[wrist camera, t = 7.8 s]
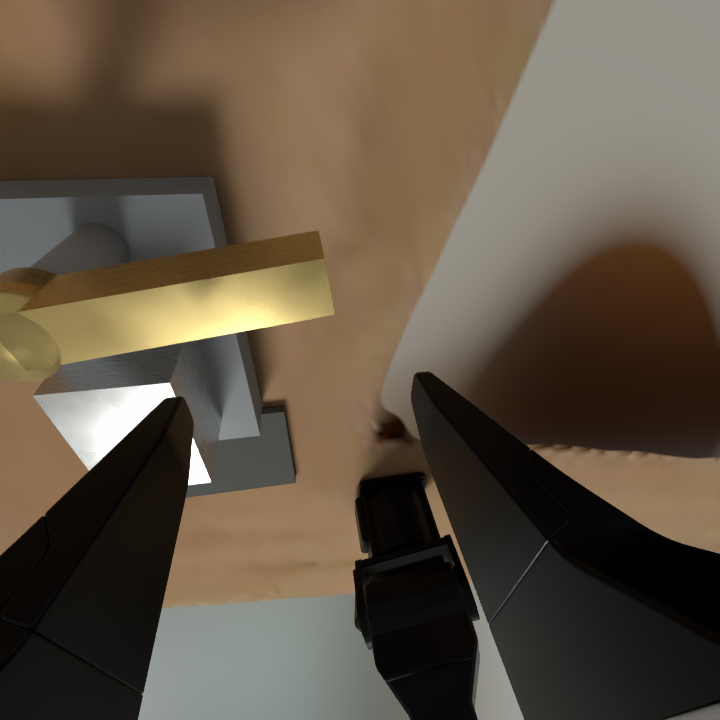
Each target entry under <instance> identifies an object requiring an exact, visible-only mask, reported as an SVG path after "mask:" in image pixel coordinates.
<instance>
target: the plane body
mask: <svg viewBox="0 0 720 720" xmlns="http://www.w3.org/2000/svg"><path fill="white" fill-rule="evenodd" d="M224 246H228V243H227V238H226V233H225V229H224V224H223V219H222V215H221V210H220V206H219V201H218V196H217V192H216V187H215V182H214V178H213V176H212V177H163V178H115V179H66V180H18V181H0V274H1V273H3V272H5V271H7V270H10V269H14V268H21V267H28V268H36V269H41V270H45V271H48V272H51V273H53V274H56V275H59V274H65V273H71V272H77V271H82V270H88V269H94V268H100V267H106V266H112V265H118V264H124V263H130V262H135V261H141V260H147V259H153V258H159V257H165V256H171V255H177V254H183V253H188V252H194V251H200V250H206V249H212V248H218V247H224ZM197 343H198V346H199V349H200V352H201V355H202V358H203V361H204V364H205V367H206V370H207V374H208V377H209V380H210V383H211V386H212V389H213V392H214V395H215V398H216V401H217V404H218V407H219V411H220V414H221V417H222V421H221V427H220V433H219V439H218V440H226V439H235V438H244V437H252V436H260V430H261V413H262V401H261V396H260V391H259V387H258V382H257V377H256V373H255V368H254V363H253V359H252V354H251V349H250V345H249V340H248V336H247V331H243V332H237V333H232V334H227V335H221V336H216V337H210V338H205V339H199V340H197Z"/></svg>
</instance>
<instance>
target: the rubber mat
mask: <svg viewBox="0 0 720 720" xmlns="http://www.w3.org/2000/svg"><path fill="white" fill-rule="evenodd" d="M290 483H296V477H295V470H294V464H293V458H292V452H291V446H290V440H289V434H288V428H287V422H286V415H285V409H284V406H279V407H270V408H262V413H261V430H260V436H252V437H244V438H235V439H226V440H218V445H217V450H216V456H215V462H214V468H213V474H212V479H211V482H207V483H199V484H192V485H188V489H187V494H186V497H194V496H201V495H209V494H216V493H224V492H231V491H238V490H246V489H253V488H261V487H268V486H276V485H283V484H290Z"/></svg>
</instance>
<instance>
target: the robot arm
mask: <svg viewBox="0 0 720 720" xmlns="http://www.w3.org/2000/svg"><path fill="white" fill-rule="evenodd" d="M411 402H412V406H413V410H414V414H415V418H416V423H417V427H418V431H419V435H420V439H421V443H422V447H423V451H424V454H425V457H426V460H427V462H428V465H429V467H430V470H431V473H432V475H433V478H434V481H435V483H436V486H437V489H438V491H439V494H440V497H441V499H442V502H443V505H444V507H445V510H446V513H447V515H448V518H449V521H450V523H451V526H452V528H453V531H454V534H455V536H456V539H457V542H458V544H459V547H460V550H461V552H462V555H463V558H464V560H465V563H466V566H467V568H468V571H469V574H470V576H471V579H472V582H473V584H474V587H475V589H476V591H477V595H478V597H479V600H480V603H481V605H482V607H483V611H484V613H485V616H486V619H487V621H488V623H489V627H490V630H491V632H492V635H493V637H494V640H495V643H496V646H497V648H498V651H499V654H500V656H501V659H502V662H503V664H504V667H505V669H506V672H507V675H508V678H509V680H510V683H511V685H512V688H513V691H514V693H515V696H516V699H517V701H518V704H519V707H520V709H521V712H522V714H523V717H524V720H720V554H719V553H715V552H711V551H707V550H704V549H700V548H696V547H692V546H688V545H685V544H682V543H679V542H676V541H673V540H671V539H669V538H666V537H664V536H662V535H660V534H658V533H656V532H654V531H652V530H650V529H649V528H647V527H645V526H644V525H642V524H640V523H639V522H637V521H636V520H634V519H633V518H631V517H630V516H628V515H626V514H625V513H623V512H622V511H620V510H619V509H617V508H616V507H614V506H613V505H611V504H609V503H608V502H606V501H605V500H603V499H602V498H600V497H599V496H597V495H596V494H594V493H593V492H591V491H589V490H588V489H586V488H585V487H583V486H582V485H580V484H579V483H577V482H576V481H574V480H573V479H572V478H570V477H569V476H567V475H566V474H564V473H563V472H561V471H560V470H559V469H557V468H556V467H555V466H553V465H552V464H550V463H549V462H548V461H546V460H545V459H544V458H542V457H541V456H540V455H538V454H537V453H536V452H535V451H533V450H530V448H529V447H528V446H526V445H525V444H524V443H522V442H521V441H520V440H519V439H517V438H516V437H515V436H513V435H512V434H511V433H509V432H508V431H507V430H505V429H504V428H503V427H501V426H500V425H499V424H498V423H496V422H495V421H494V420H492V419H491V418H490V417H488V416H487V415H486V414H484V413H483V412H482V411H481V410H479V409H478V408H477V407H475V406H474V405H473V404H472V403H470V402H469V401H467V400H466V399H465V398H464V397H462V396H461V395H460V394H458V393H457V392H456V391H455V390H453V389H452V388H450V387H449V386H448V385H447V384H445V383H444V382H443V381H441V380H440V379H439V378H438V377H436V376H435V375H434V374H432V373H431V372H419V373H416V374H415V375H414V378H413V385H412V392H411ZM193 431H194V421H193V417H192V415H191V412H190V410H189V407H188V405H187V402H186V400H185V399H184V397H182V396H177V397H168V398H165V399H163V400H162V401H161V402H160V403H159V404H158V405H157V406H156V407H155V408H154V409H153V410H152V411H151V412H150V413H149V414H148V415H147V416H146V417H145V418H144V419H143V420H142V421H140V422H139V423H138V424H137V425H136V426H135V427H134V428H133V429H132V430H131V431H130V432H129V433H128V434H127V435H126V436H125V437H124V438H123V439H122V440H121V441H120V442H119V443H118V444H117V445H116V446H115V447H113V448H112V449H111V450H110V451H109V452H108V453H107V454H106V455H105V456H104V457H103V458H102V459H101V460H100V461H99V462H98V463H97V464H96V465H95V466H94V467H93V468H92V469H91V470H90V471H89V472H88V473H87V474H85V475H84V476H83V477H82V478H81V479H80V480H79V481H78V482H77V483H76V484H75V485H74V486H73V487H72V488H71V489H70V490H69V491H68V492H67V493H66V494H65V495H64V496H63V497H62V498H61V499H60V500H58V501H57V502H56V503H55V504H54V505H53V506H52V507H51V508H50V509H49V510H48V511H47V512H46V513H45V516H42V517H41V518H40V519H39V520H38V521H37V522H35V523H34V524H33V525H32V526H31V527H30V528H29V529H28V530H27V531H26V532H25V533H24V534H23V535H22V536H21V537H20V538H19V539H18V540H17V541H15V542H14V543H13V544H12V545H11V546H10V547H9V548H8V549H7V550H6V551H5V552H4V553H3V554H1V555H0V720H138V716H139V711H140V707H141V702H142V697H143V696H142V695H141V694H142V693H143V692H144V687H145V683H146V678H147V674H148V669H149V664H150V660H151V655H152V650H153V645H154V641H155V637H156V632H157V627H158V622H159V618H160V614H161V609H162V604H163V600H164V595H165V591H166V586H167V581H168V577H169V572H170V568H171V563H172V558H173V554H174V549H175V545H176V540H177V535H178V531H179V526H180V521H181V517H182V512H183V508H184V503H185V498H186V494H187V489H188V483H189V475H190V465H191V454H192V442H193ZM425 483H426V475H425V474H424V473H417V474H409V475H402V476H395V477H388V478H380V479H373V480H366V481H362V482H360V484H359V497H358V498H356V500H355V516H356V522H357V528H358V535H359V541H360V547H361V552H363V553H368V557H369V558H368V559H364V560H361V559H360V560H357V561H355V568H356V569H354V570H353V576H354V583H355V626H356V628H357V629H358V630H359V631H361V632H362V635H363V637H364V640H365V643H366V645H367V647H368V649H369V650H371V649H373V653H374V659H375V665H376V668H377V670H378V671H379V673H380V674H381V676H382V677H383V679H384V680H385V681H386V683H387V685H388V686H389V688H390V689H391V690H392V692H393V693H394V695H395V696H396V698H397V699H398V701H399V702H400V703H401V705H402V707H403V708H404V710H405V711H406V713H407V714H408V715H409V717H410V720H478V719H477V716H476V712H475V698H476V690H477V681H478V672H479V663H480V653H479V646H478V639H477V635H476V632H475V629H474V626H473V623H472V621H476V620H480V617H479V613H478V610H477V606H476V603H475V600H474V597H473V594H472V591H471V588H470V585H469V582H468V580H467V577H466V574H465V572H464V569H463V567H462V564H461V562H460V559H459V556H458V554H457V551H456V549H455V546H454V544H453V541H452V538H451V536H450V534H449V535H445V536H444V537H442V538H440V535H439V532H438V529H437V526H436V523H435V520H434V517H433V514H432V511H431V508H430V505H429V502H428V499H427V496H426V493H425V490H424V488H425Z"/></svg>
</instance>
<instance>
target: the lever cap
mask: <svg viewBox="0 0 720 720" xmlns="http://www.w3.org/2000/svg"><path fill="white" fill-rule="evenodd" d="M177 396H182V397H184V399H185V400H186V402H187V405H188V407H189V410H190V412H191V415H192V417H193V421H194V431H193V442H192V454H191V465H190V475H189V483H188V485H192V484H199V483H207V482H211V479H212V474H213V468H214V462H215V456H216V450H217V445H218V439H219V433H220V427H221V421H222V417H221V414H220V411H219V407H218V404H217V401H216V398H215V395H214V392H213V389H212V386H211V383H210V380H209V377H208V374H207V370H206V367H205V364H204V361H203V358H202V355H201V352H200V349H199V346H198V343H197V340H194V341H188V342H183V343H178V344H172V345H167V346H161V347H156V348H150V349H145V350H139V351H134V352H129V353H123V354H118V355H112V356H107V357H101V358H96V359H90V360H85V361H80V362H74V363H69V364H63V365H61V366H60V367H59V369H58V370H57V371H56V372H55V373H54V374H53V375H51V376H50V377H48V378H46V379H45V380H44V381H43V383H42V384H41V385H40V386H39V388H38V389H37V390H36V392H35V393H34V394H33V397H34V398H35V400H36V401H37V402H38V404H39V405H40V406H41V408H42V409H43V410H44V412H45V413H46V414H47V415H48V417H49V418H50V419H51V421H52V422H53V423H54V425H55V426H56V427H57V429H58V430H59V431H60V433H61V434H62V435H63V437H64V438H65V439H66V441H67V442H68V443H69V445H70V446H71V447H72V449H73V450H74V451H75V452H76V454H77V455H78V456H79V458H80V459H81V460H82V462H83V463H84V464H85V466H86V467H87V468H88V470H89V471H90V470H91V469H92V468H93V467H94V466H95V465H96V464H97V463H98V462H99V461H100V460H101V459H102V458H103V457H104V456H105V455H106V454H107V453H108V452H109V451H110V450H111V449H112V448H113V447H115V446H116V445H117V444H118V443H119V442H120V441H121V440H122V439H123V438H124V437H125V436H126V435H127V434H128V433H129V432H130V431H131V430H132V429H133V428H134V427H135V426H136V425H137V424H138V423H139V422H140V421H142V420H143V419H144V418H145V417H146V416H147V415H148V414H149V413H150V412H151V411H152V410H153V409H154V408H155V407H156V406H157V405H158V404H159V403H160V402H161V401H162V400H163V399H165V398H168V397H177Z"/></svg>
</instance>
